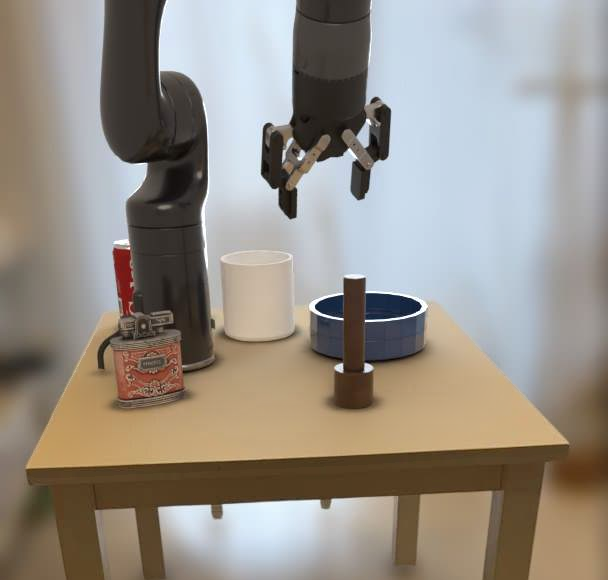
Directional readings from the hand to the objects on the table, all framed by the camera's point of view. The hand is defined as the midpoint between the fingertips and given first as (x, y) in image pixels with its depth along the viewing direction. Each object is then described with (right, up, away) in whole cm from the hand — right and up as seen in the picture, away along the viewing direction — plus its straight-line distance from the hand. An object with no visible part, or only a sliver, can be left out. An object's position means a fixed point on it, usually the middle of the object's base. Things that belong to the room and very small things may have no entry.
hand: (323, 205), depth 99 cm
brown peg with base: (+3, -22, +2) cm, 22 cm away
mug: (-9, -7, +28) cm, 31 cm away
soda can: (-26, -6, +31) cm, 41 cm away
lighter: (-20, -21, +3) cm, 29 cm away
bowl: (+6, -11, +20) cm, 24 cm away
